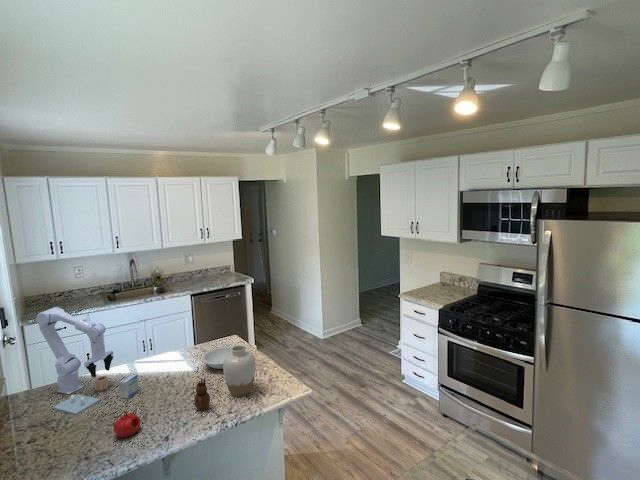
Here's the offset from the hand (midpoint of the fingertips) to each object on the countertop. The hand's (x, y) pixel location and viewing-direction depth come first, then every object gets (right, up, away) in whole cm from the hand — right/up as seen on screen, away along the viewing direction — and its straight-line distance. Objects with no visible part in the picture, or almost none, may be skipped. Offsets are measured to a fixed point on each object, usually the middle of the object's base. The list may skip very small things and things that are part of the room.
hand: (100, 373), depth 181 cm
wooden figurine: (+59, -9, -19) cm, 63 cm away
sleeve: (0, -9, +1) cm, 9 cm away
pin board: (-4, -10, -12) cm, 17 cm away
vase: (+74, -7, -5) cm, 74 cm away
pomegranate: (+33, -12, -34) cm, 49 cm away
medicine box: (+17, -9, -4) cm, 20 cm away
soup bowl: (+57, -5, +25) cm, 62 cm away
